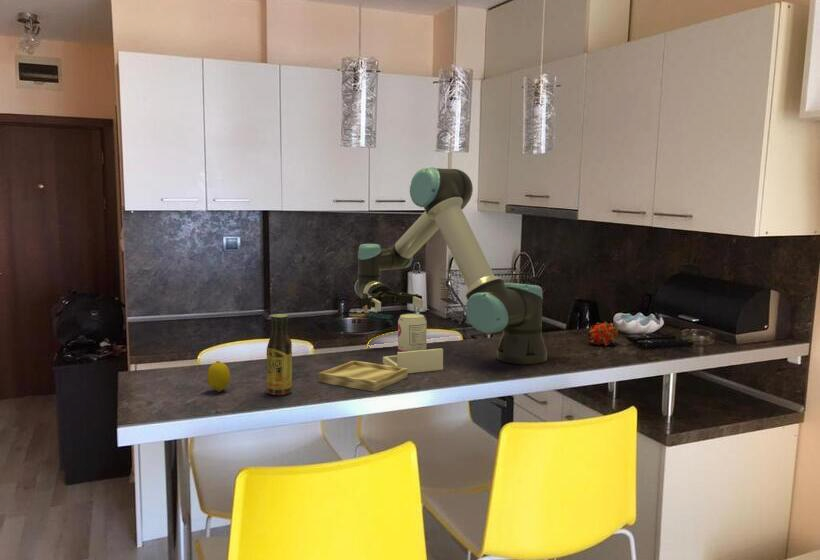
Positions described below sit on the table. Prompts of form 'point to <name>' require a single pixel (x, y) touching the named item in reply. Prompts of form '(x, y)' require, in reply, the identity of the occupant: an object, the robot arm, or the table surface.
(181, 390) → the table surface
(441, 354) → the dock
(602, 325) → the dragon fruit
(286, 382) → the sauce bottle
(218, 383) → the lemon
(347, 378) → the tray
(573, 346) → the table surface
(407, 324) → the supplement can
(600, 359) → the table surface
